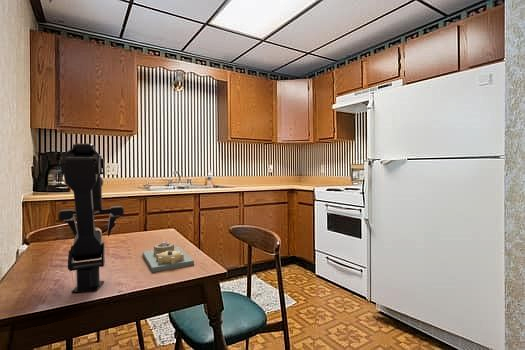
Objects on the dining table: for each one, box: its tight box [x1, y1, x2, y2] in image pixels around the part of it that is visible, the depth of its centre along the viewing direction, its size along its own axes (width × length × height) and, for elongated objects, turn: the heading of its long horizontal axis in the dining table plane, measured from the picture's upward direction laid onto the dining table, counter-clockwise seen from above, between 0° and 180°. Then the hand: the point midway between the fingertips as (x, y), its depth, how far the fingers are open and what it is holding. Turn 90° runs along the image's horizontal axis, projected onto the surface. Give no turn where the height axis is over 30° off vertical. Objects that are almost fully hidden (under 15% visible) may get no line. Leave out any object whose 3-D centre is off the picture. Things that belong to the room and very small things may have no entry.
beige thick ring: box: [153, 242, 175, 255], centre depth 113 cm, size 7×7×3 cm
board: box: [142, 246, 195, 273], centre depth 109 cm, size 22×14×4 cm, turn 30°
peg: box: [161, 241, 168, 247], centre depth 113 cm, size 2×2×4 cm
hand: (93, 237), depth 99 cm, fingers open, 9 cm apart
